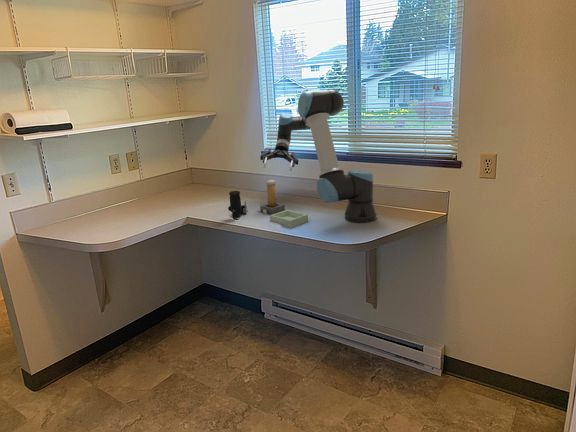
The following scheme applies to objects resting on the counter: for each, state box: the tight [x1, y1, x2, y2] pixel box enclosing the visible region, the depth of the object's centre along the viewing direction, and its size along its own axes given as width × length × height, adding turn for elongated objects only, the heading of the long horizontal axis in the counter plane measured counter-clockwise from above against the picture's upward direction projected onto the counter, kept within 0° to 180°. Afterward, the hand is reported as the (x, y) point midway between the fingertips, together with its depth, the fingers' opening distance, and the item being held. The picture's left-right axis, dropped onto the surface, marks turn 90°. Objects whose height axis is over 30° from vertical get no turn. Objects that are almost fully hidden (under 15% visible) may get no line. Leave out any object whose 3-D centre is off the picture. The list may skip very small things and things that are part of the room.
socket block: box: [256, 202, 287, 216], centre depth 231 cm, size 12×12×4 cm
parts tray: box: [269, 209, 309, 229], centre depth 214 cm, size 14×12×4 cm
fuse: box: [265, 179, 277, 208], centre depth 228 cm, size 5×5×16 cm
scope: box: [228, 190, 248, 221], centre depth 223 cm, size 8×14×10 cm
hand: (277, 167), depth 228 cm, fingers open, 13 cm apart
